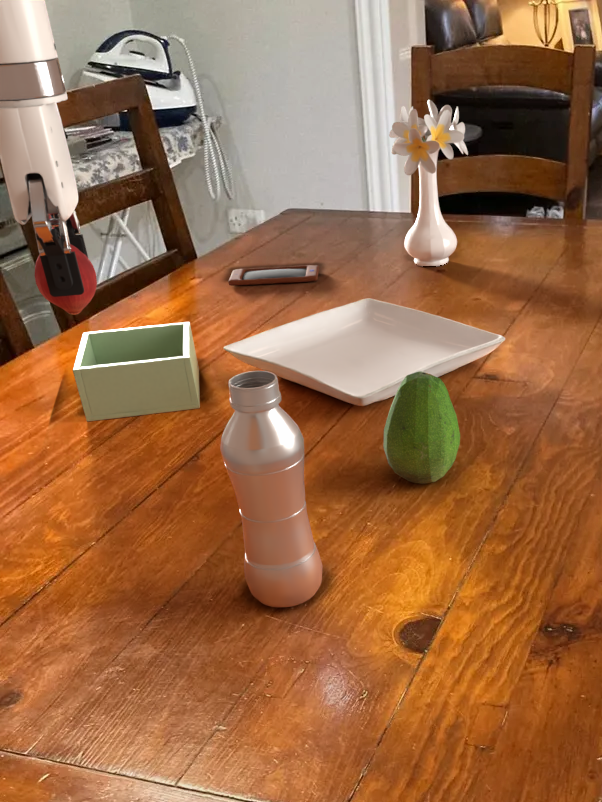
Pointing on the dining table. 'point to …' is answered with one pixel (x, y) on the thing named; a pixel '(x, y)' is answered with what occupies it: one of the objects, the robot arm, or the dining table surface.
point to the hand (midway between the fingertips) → (71, 283)
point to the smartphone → (274, 275)
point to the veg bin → (137, 371)
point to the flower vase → (428, 178)
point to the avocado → (421, 429)
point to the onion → (72, 302)
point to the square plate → (364, 349)
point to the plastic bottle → (270, 492)
